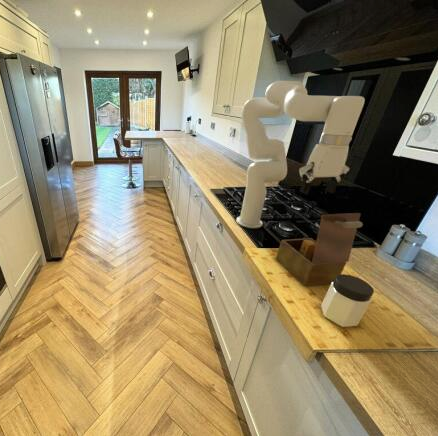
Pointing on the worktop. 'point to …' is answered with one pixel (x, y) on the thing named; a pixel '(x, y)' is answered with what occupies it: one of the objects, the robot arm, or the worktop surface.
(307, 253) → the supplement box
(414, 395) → the worktop surface
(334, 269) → the chest
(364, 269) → the worktop surface
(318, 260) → the lid
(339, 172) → the robot arm
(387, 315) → the worktop surface
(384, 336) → the worktop surface
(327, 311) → the jar
